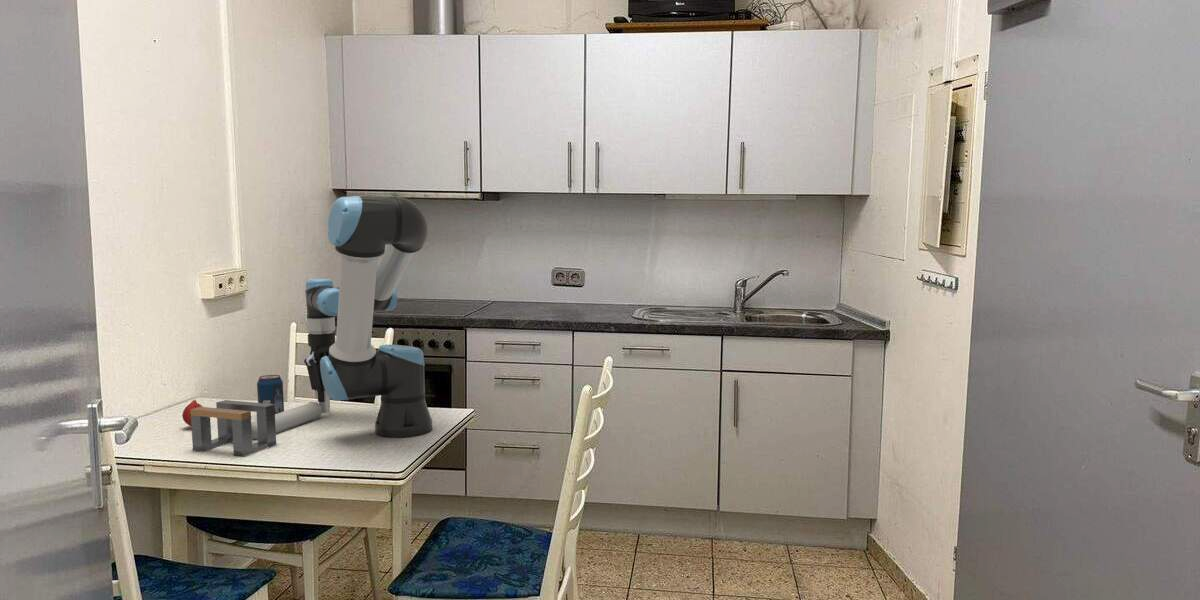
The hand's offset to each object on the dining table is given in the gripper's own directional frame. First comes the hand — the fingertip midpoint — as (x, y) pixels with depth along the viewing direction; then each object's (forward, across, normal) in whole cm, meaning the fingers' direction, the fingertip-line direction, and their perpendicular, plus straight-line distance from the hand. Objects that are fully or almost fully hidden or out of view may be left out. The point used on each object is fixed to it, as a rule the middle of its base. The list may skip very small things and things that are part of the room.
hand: (324, 412), depth 231 cm
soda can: (+2, +5, -15) cm, 16 cm away
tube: (+2, +15, -2) cm, 15 cm away
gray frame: (+1, +34, 0) cm, 34 cm away
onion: (+2, +22, -26) cm, 34 cm away
